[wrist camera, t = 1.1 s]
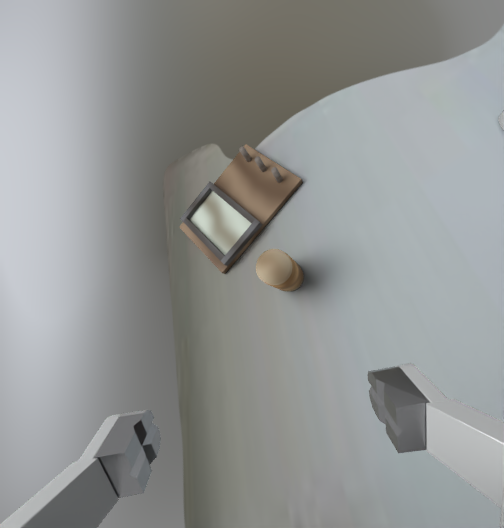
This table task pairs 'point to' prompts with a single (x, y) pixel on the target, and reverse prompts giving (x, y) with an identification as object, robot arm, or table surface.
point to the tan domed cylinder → (279, 270)
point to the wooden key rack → (238, 206)
